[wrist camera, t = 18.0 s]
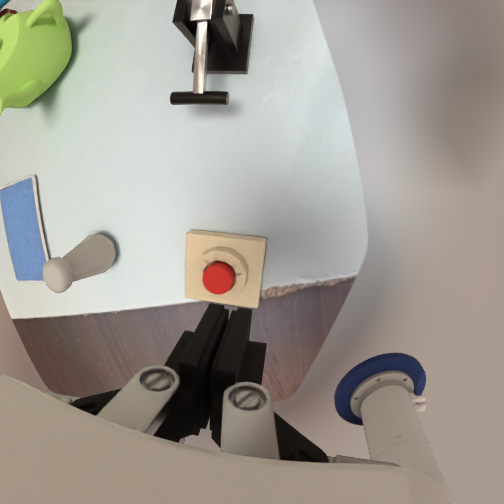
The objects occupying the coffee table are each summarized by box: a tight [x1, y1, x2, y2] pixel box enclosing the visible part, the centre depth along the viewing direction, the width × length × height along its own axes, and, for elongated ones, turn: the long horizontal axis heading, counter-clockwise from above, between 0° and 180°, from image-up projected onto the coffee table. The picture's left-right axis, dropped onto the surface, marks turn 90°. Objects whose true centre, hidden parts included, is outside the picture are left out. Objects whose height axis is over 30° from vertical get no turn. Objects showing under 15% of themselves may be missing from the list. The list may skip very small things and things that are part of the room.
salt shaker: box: [43, 234, 116, 293], centre depth 35 cm, size 6×6×13 cm
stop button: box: [202, 262, 234, 295], centre depth 35 cm, size 4×4×2 cm
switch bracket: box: [173, 0, 254, 74], centre depth 26 cm, size 9×7×12 cm
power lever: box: [170, 0, 229, 105], centre depth 24 cm, size 12×6×2 cm, turn 175°
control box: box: [185, 230, 266, 308], centre depth 38 cm, size 10×9×4 cm
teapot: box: [0, 0, 72, 115], centre depth 26 cm, size 19×20×14 cm
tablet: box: [0, 175, 49, 282], centre depth 42 cm, size 19×13×1 cm, turn 6°
